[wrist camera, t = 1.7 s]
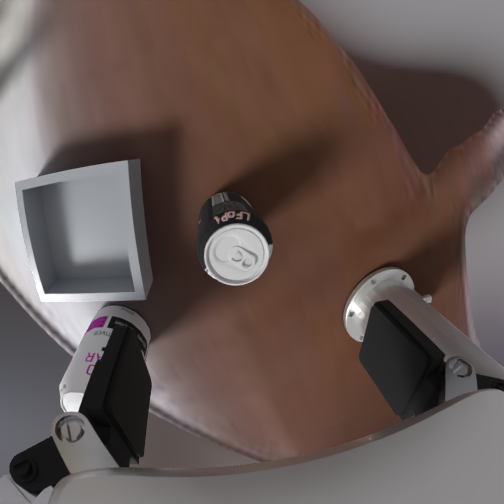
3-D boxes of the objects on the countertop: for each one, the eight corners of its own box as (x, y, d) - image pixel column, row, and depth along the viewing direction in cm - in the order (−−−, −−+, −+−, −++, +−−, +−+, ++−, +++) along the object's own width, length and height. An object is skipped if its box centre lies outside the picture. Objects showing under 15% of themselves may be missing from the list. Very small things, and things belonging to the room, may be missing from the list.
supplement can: (102, 349, 34) (73, 431, 20) (89, 300, 31) (42, 380, 17) (154, 353, 35) (141, 442, 21) (147, 303, 32) (120, 394, 18)
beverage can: (231, 250, 32) (245, 306, 21) (189, 223, 30) (179, 267, 19) (262, 210, 31) (294, 246, 19) (220, 180, 29) (227, 198, 18)
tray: (140, 158, 26) (127, 160, 22) (153, 279, 31) (145, 300, 27) (37, 176, 24) (15, 182, 20) (57, 283, 29) (41, 301, 25)
